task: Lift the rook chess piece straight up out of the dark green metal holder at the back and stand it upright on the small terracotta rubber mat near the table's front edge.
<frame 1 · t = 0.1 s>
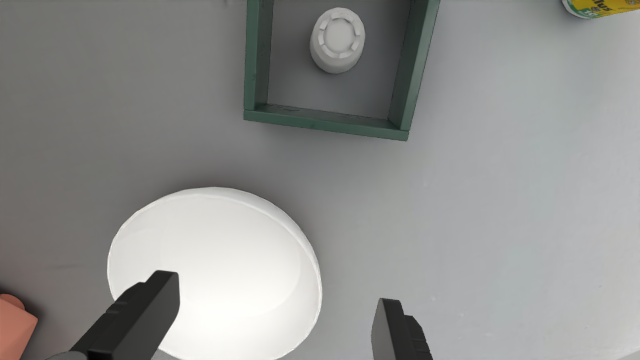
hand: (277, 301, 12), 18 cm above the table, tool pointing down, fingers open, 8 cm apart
rook chess piece: (336, 45, 25), resting in holder
bowl: (235, 252, 33), on the table
holder: (336, 45, 25), on the table
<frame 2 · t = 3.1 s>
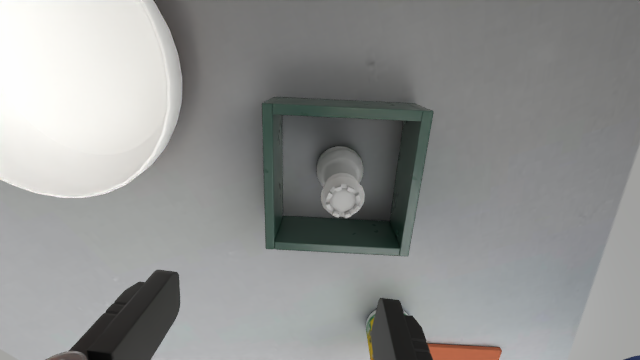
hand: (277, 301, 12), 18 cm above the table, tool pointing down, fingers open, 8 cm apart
rook chess piece: (339, 166, 29), resting in holder
bowl: (96, 68, 26), on the table
holder: (339, 167, 29), on the table
supplement bottle: (387, 320, 35), on the table
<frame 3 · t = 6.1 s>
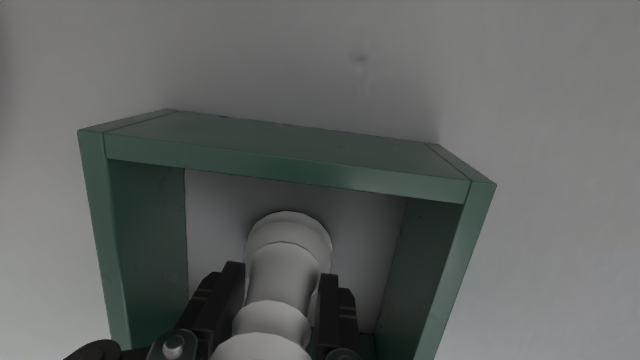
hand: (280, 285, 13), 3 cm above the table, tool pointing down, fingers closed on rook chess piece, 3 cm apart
rook chess piece: (290, 242, 16), resting in holder, touching gripper
holder: (290, 244, 16), on the table
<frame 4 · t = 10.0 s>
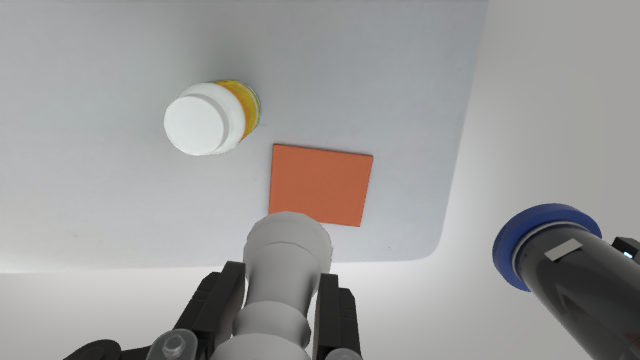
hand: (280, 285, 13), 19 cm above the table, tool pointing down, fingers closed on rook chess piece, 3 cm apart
rook chess piece: (290, 242, 16), point 15 cm above the table, touching gripper
supplement bottle: (235, 108, 29), on the table
mat: (318, 186, 31), on the table
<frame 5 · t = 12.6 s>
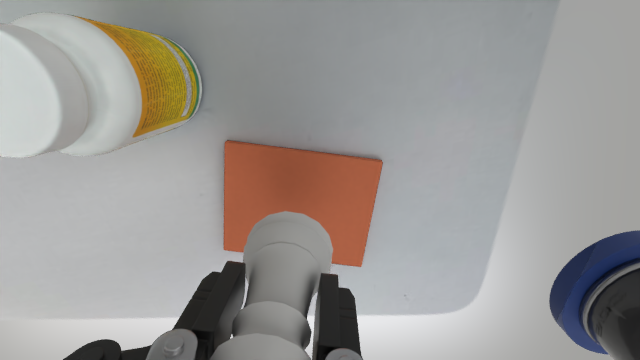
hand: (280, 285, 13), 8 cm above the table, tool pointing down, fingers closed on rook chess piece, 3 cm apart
rook chess piece: (291, 243, 16), point 5 cm above the table, touching gripper
supplement bottle: (163, 82, 18), on the table
mat: (298, 205, 20), on the table
when the fingers open (4 cm above the table, at t = 14.1 s): rook chess piece stays where it is, resting on mat.
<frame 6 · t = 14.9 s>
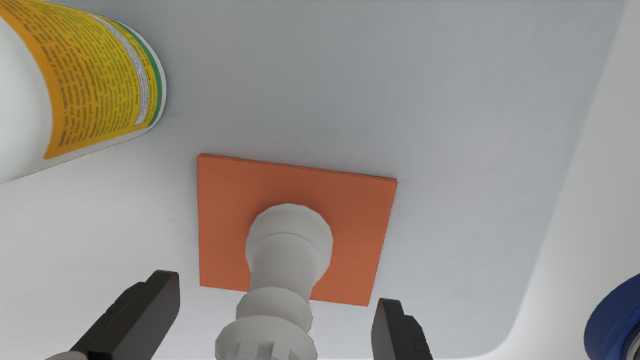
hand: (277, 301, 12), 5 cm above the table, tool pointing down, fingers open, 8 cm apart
rook chess piece: (292, 234, 16), resting on mat
supplement bottle: (117, 80, 14), on the table
mat: (291, 233, 16), on the table
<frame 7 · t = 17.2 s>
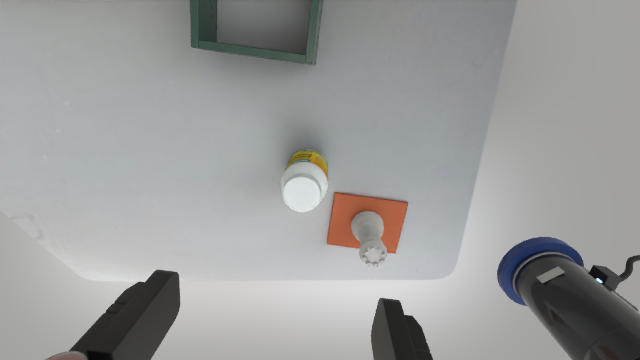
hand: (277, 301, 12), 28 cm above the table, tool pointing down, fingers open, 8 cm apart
rook chess piece: (366, 223, 42), resting on mat
supplement bottle: (308, 166, 40), on the table
mat: (365, 222, 42), on the table
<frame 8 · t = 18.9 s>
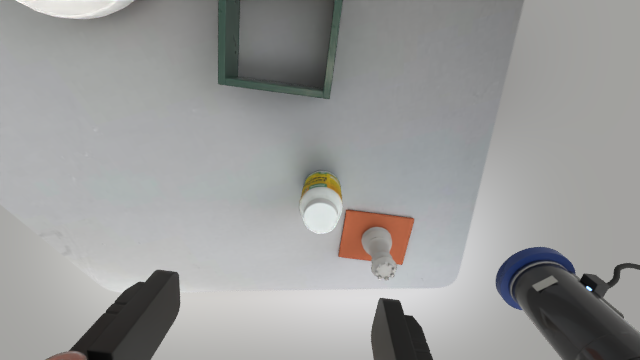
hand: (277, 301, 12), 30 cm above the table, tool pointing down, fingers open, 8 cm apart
rook chess piece: (375, 237, 45), resting on mat
holder: (284, 34, 36), on the table
supplement bottle: (322, 186, 43), on the table
mat: (374, 237, 45), on the table
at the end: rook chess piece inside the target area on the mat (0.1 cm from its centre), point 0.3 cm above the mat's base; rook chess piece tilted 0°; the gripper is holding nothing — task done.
